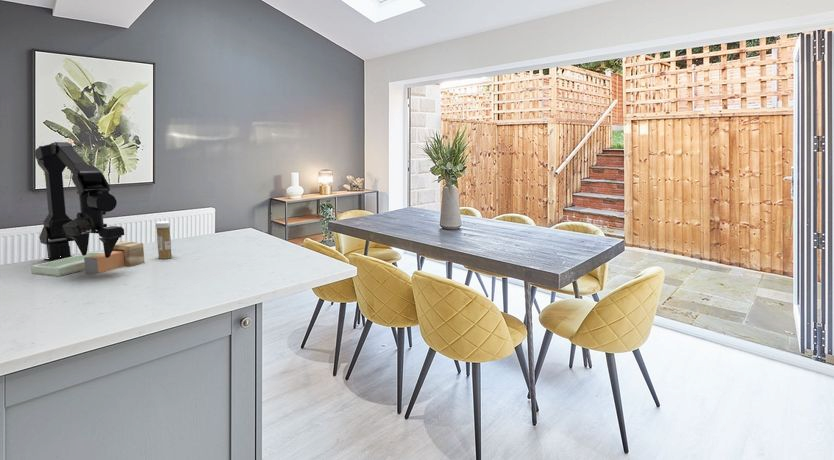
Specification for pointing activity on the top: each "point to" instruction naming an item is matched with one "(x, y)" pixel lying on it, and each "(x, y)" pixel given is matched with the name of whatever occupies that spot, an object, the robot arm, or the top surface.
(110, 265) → the orange rectangular block
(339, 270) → the top surface
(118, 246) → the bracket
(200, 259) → the top surface
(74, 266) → the tray
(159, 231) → the sprinkles bottle
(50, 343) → the top surface
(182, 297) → the top surface
